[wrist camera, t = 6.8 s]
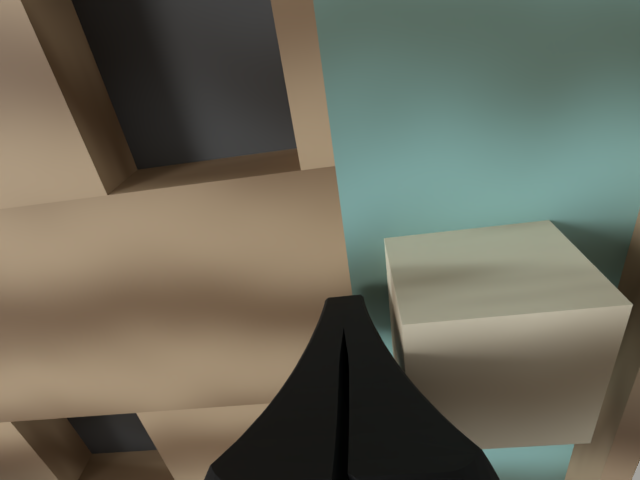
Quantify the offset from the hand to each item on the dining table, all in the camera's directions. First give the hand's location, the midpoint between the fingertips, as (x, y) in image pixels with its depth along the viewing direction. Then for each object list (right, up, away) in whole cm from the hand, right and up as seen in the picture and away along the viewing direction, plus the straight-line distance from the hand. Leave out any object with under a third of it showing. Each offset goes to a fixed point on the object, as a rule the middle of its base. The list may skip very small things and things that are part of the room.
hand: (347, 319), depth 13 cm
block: (+4, +1, 0) cm, 4 cm away
